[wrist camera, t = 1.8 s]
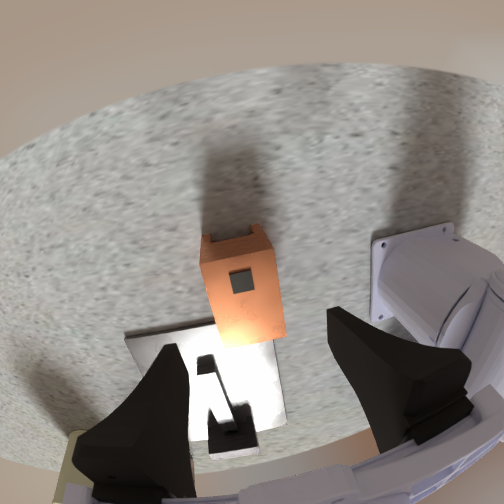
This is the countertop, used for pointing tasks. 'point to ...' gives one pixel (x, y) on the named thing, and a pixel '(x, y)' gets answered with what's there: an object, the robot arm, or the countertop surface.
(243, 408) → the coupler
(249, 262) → the orange block
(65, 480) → the can
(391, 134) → the countertop surface
